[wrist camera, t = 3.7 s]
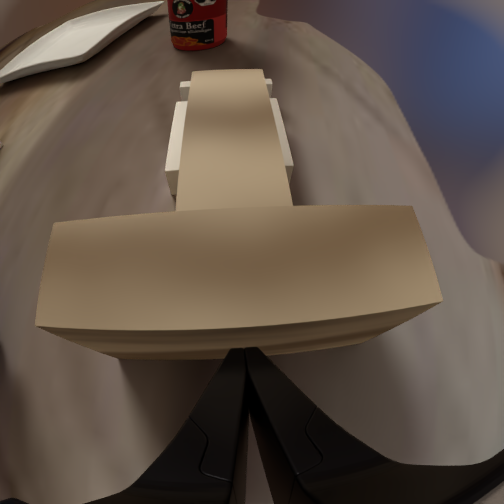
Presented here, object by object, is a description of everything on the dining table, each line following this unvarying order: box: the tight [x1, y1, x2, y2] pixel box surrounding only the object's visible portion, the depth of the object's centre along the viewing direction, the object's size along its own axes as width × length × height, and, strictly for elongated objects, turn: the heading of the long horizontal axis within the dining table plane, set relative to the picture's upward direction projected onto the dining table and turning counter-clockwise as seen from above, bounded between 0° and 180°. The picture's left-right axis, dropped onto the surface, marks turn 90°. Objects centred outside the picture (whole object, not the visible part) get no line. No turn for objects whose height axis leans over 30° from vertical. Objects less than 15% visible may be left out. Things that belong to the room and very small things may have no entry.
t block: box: [35, 69, 443, 360], centre depth 15 cm, size 14×14×8 cm
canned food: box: [167, 0, 228, 51], centre depth 28 cm, size 8×8×11 cm
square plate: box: [0, 1, 164, 83], centre depth 35 cm, size 27×27×4 cm
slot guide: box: [165, 79, 294, 195], centre depth 21 cm, size 12×8×2 cm
